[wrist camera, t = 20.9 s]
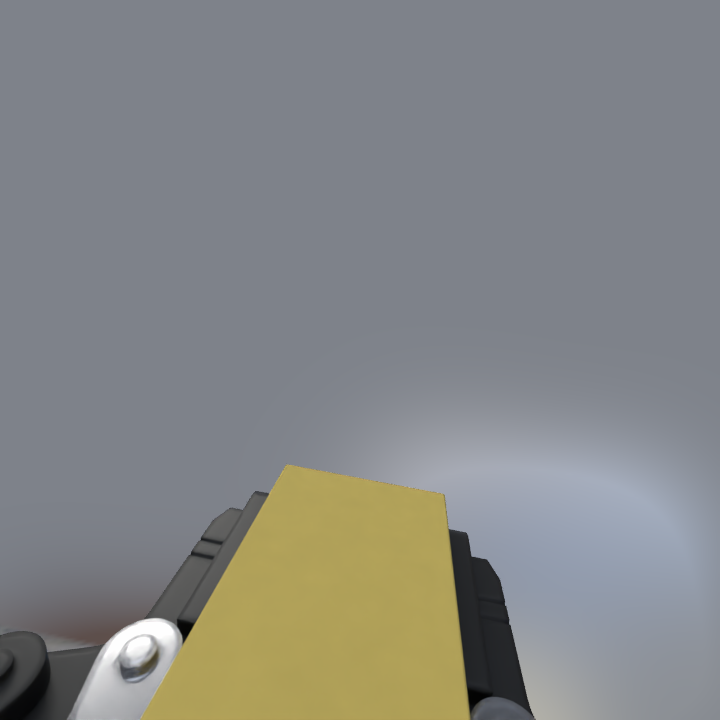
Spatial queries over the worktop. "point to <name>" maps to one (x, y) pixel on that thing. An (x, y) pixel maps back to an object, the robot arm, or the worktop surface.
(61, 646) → the worktop surface
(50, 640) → the worktop surface
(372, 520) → the sponge
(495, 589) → the robot arm
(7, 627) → the worktop surface
